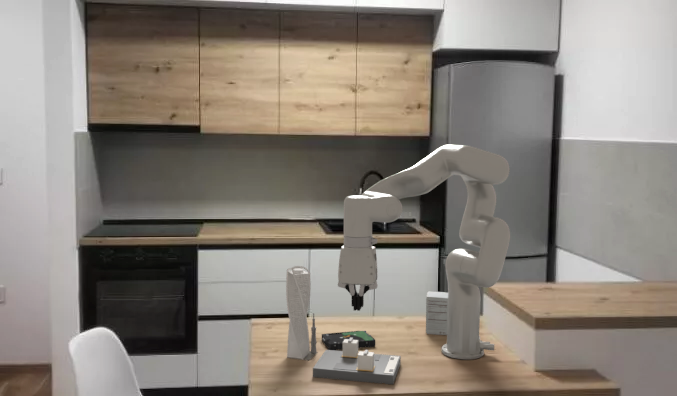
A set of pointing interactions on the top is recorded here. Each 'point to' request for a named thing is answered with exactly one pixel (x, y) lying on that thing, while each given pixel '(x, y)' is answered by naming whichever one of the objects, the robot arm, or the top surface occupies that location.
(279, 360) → the top surface
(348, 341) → the tab
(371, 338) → the disk drive
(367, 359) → the front tab
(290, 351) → the skyscraper
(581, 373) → the top surface
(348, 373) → the switch board
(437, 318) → the supplement box
